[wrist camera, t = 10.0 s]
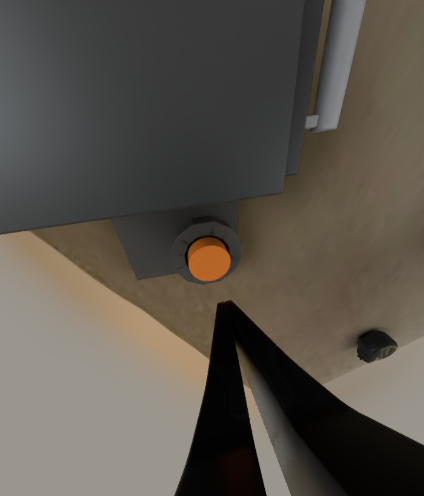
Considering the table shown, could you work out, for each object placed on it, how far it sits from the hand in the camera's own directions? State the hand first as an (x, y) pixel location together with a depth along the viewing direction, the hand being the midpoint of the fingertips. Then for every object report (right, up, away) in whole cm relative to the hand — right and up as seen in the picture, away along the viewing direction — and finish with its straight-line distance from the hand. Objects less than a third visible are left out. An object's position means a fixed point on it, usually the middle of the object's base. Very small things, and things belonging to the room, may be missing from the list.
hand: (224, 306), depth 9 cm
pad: (-4, +5, +7) cm, 10 cm away
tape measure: (+35, -18, +28) cm, 48 cm away
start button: (-1, +3, +5) cm, 6 cm away
